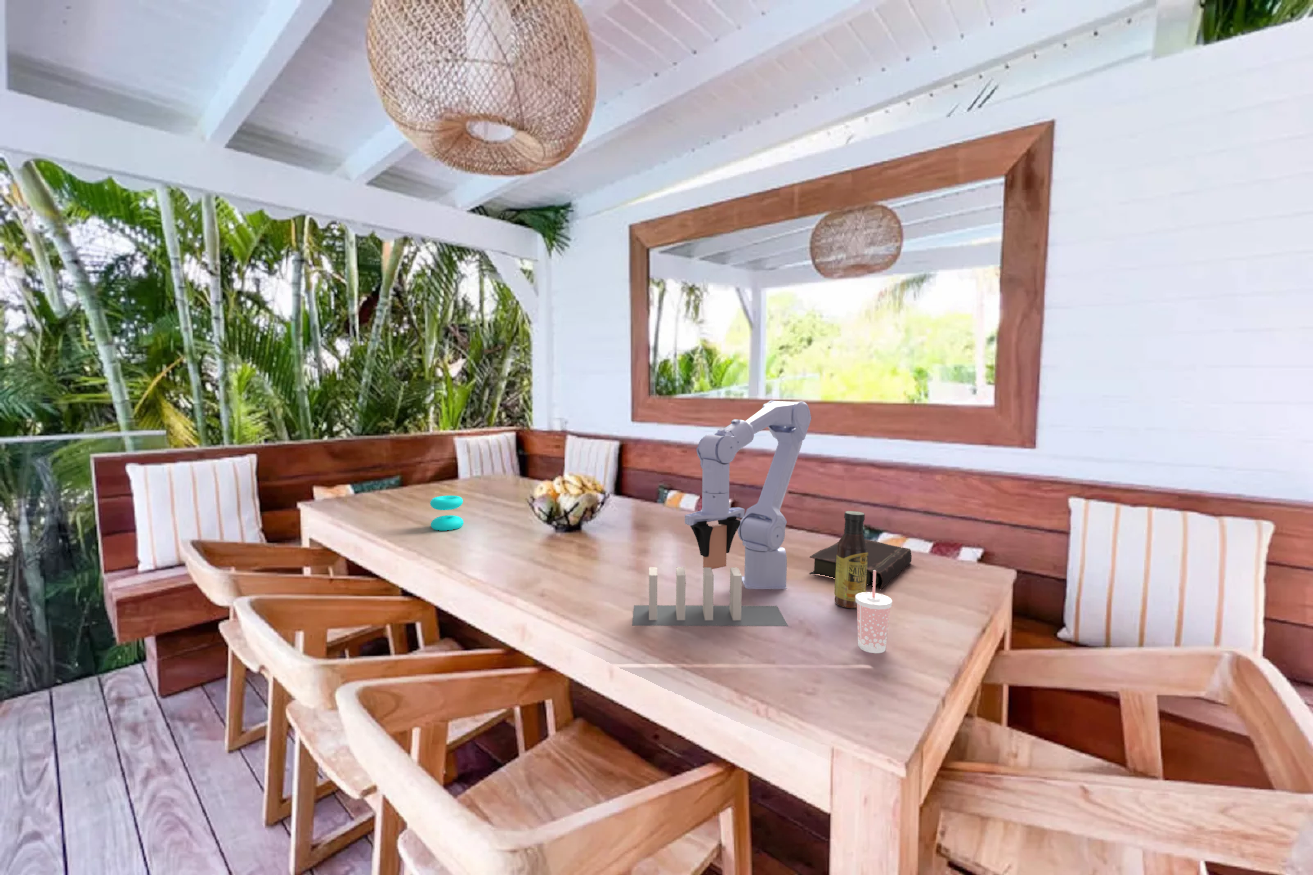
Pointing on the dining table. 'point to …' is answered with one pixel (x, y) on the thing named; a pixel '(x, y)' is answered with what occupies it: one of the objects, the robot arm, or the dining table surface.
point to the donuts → (449, 520)
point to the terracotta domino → (717, 547)
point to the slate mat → (720, 618)
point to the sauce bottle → (851, 561)
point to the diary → (879, 558)
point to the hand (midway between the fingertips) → (714, 553)
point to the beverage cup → (872, 619)
